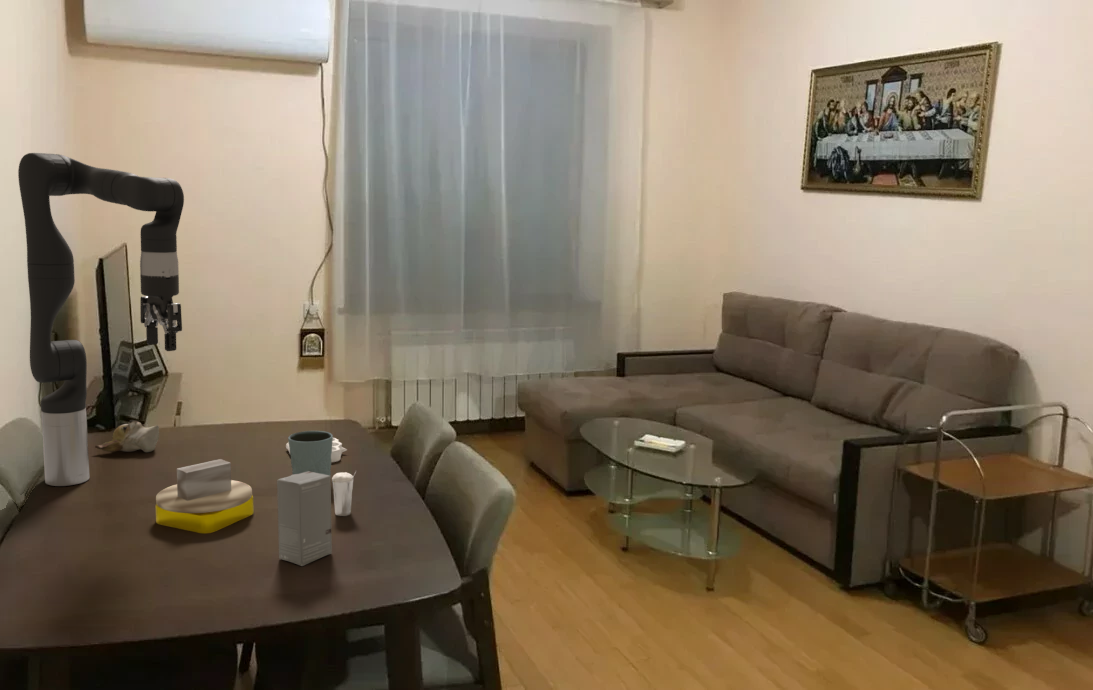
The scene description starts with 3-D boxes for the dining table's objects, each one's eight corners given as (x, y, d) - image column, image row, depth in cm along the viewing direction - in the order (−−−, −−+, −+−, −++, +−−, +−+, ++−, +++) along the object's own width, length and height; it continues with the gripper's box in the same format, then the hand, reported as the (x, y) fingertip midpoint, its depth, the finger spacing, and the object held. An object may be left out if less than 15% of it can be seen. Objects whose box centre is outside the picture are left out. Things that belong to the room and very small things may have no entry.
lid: (139, 497, 190) (137, 465, 188) (221, 477, 204) (220, 448, 203) (185, 520, 178) (184, 485, 177) (269, 497, 192) (269, 466, 191)
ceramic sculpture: (148, 424, 231) (90, 425, 231) (151, 456, 232) (94, 458, 232) (166, 414, 241) (111, 416, 242) (169, 446, 243) (114, 447, 243)
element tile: (258, 514, 196) (257, 492, 195) (207, 536, 182) (207, 514, 181) (203, 503, 201) (203, 482, 200) (151, 524, 187) (150, 502, 187)
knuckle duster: (284, 448, 245) (337, 444, 252) (295, 467, 229) (352, 462, 236) (283, 436, 245) (337, 432, 251) (295, 454, 229) (352, 449, 235)
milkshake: (351, 518, 193) (351, 473, 192) (328, 516, 194) (328, 471, 193) (360, 511, 198) (360, 467, 196) (337, 509, 199) (337, 465, 197)
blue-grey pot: (341, 485, 215) (341, 436, 213) (304, 494, 208) (303, 444, 206) (317, 475, 222) (317, 428, 220) (280, 483, 215) (279, 435, 213)
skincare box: (301, 567, 167) (300, 485, 165) (275, 558, 171) (273, 478, 168) (334, 553, 174) (334, 474, 172) (308, 545, 178) (307, 467, 176)
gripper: (127, 270, 193) (129, 344, 196) (157, 277, 184) (159, 354, 187) (161, 268, 199) (163, 340, 202) (192, 275, 190) (194, 351, 193)
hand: (161, 347), depth 194 cm, fingers open, 8 cm apart
